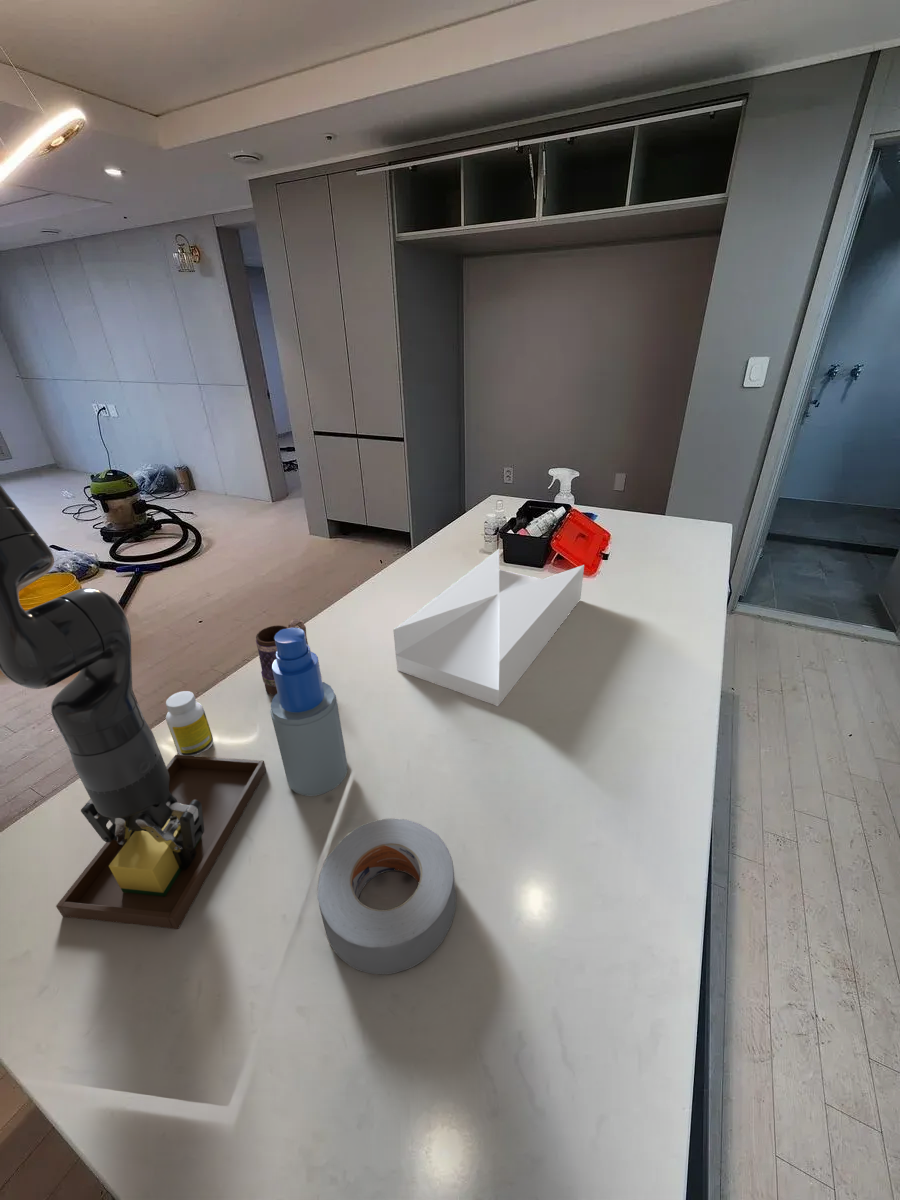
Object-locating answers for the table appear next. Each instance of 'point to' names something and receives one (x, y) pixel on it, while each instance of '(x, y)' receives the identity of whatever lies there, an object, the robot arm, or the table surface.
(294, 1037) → the table surface
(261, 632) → the mug
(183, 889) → the tray
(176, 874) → the sponge
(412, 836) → the tape roll
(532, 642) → the building model
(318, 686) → the spray bottle
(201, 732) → the supplement bottle
